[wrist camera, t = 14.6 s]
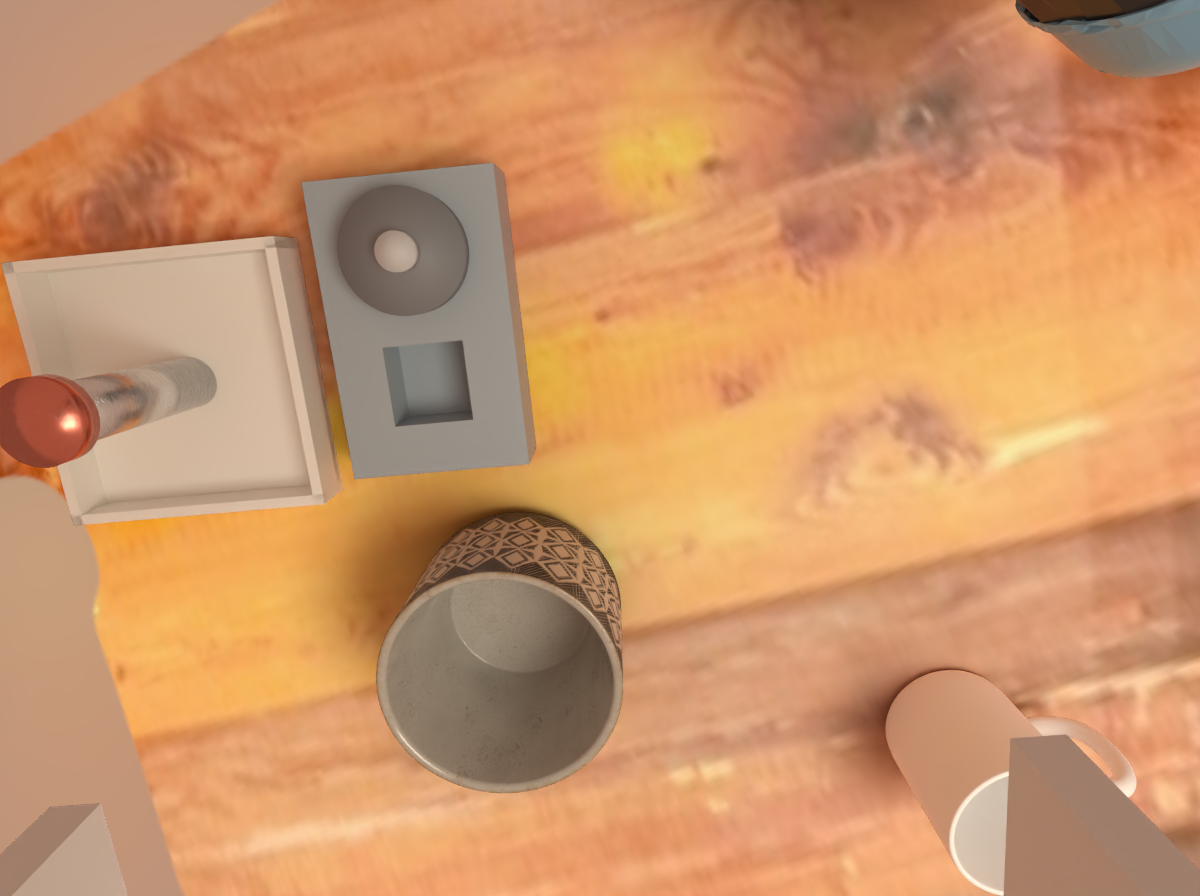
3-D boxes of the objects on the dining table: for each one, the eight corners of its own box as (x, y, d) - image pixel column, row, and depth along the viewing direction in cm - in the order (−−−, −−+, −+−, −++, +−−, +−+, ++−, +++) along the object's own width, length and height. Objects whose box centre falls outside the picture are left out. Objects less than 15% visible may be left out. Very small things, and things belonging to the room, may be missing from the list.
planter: (659, 576, 47) (672, 660, 37) (549, 718, 49) (534, 834, 39) (494, 467, 45) (460, 524, 35) (390, 620, 48) (330, 713, 38)
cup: (873, 679, 48) (940, 784, 39) (1057, 642, 48) (1173, 739, 38) (890, 784, 50) (959, 910, 40) (1068, 751, 49) (1181, 870, 40)
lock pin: (151, 352, 43) (-22, 382, 31) (217, 345, 43) (67, 373, 31) (167, 417, 44) (4, 471, 32) (231, 411, 44) (91, 463, 32)
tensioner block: (330, 190, 42) (278, 175, 35) (504, 173, 41) (484, 155, 35) (376, 461, 45) (337, 492, 39) (536, 447, 45) (523, 476, 39)
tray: (42, 263, 43) (1, 263, 40) (296, 238, 42) (273, 235, 39) (107, 509, 46) (73, 525, 43) (342, 489, 46) (324, 504, 43)
